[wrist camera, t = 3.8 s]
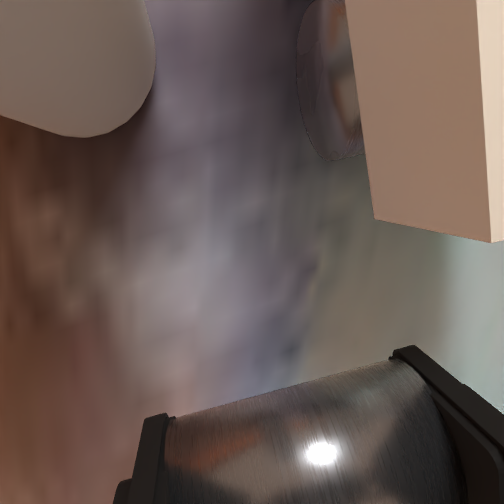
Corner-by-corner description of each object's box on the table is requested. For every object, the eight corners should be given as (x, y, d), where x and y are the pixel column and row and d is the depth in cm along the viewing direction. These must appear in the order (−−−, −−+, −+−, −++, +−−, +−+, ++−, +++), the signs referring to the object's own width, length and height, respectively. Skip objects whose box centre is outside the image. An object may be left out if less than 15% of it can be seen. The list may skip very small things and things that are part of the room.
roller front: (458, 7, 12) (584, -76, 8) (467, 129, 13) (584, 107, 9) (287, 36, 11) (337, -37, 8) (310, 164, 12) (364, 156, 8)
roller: (379, 332, 10) (473, 432, 7) (386, 429, 11) (469, 553, 8) (169, 388, 10) (158, 526, 6) (200, 483, 11) (205, 642, 7)
